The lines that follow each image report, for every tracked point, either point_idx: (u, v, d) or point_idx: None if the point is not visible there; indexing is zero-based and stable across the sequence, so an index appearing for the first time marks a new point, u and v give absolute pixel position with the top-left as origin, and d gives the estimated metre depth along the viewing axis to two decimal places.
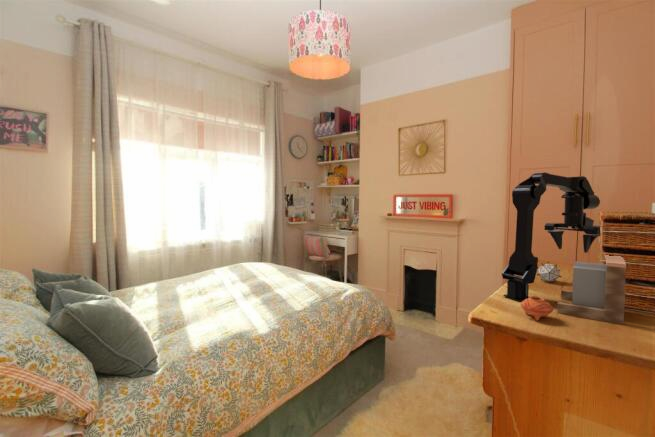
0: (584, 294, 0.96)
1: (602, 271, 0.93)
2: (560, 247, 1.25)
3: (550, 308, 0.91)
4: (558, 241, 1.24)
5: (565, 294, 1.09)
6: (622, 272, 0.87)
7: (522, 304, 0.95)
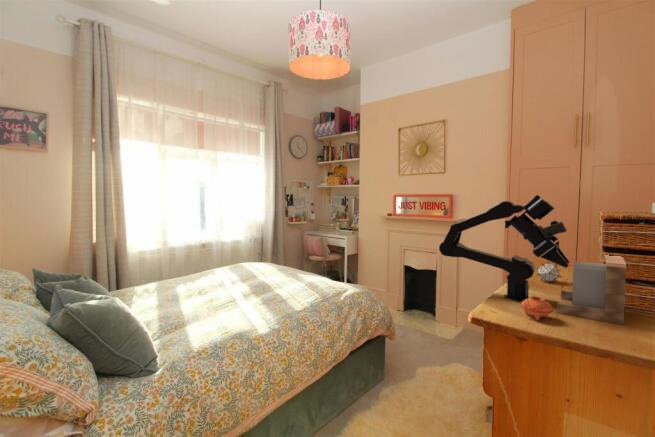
0: (584, 294, 0.96)
1: (602, 271, 0.93)
2: (566, 261, 1.05)
3: (550, 308, 0.91)
4: None
5: (565, 294, 1.09)
6: (622, 272, 0.87)
7: (522, 304, 0.95)
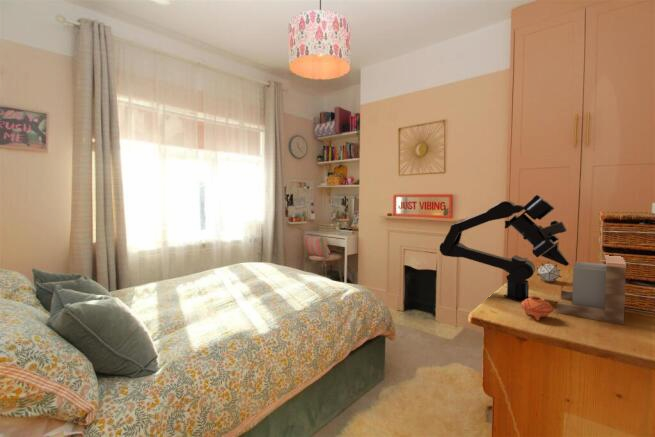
0: (584, 294, 0.96)
1: (602, 271, 0.93)
2: None
3: (550, 308, 0.91)
4: None
5: (565, 294, 1.09)
6: (622, 272, 0.87)
7: (522, 304, 0.95)
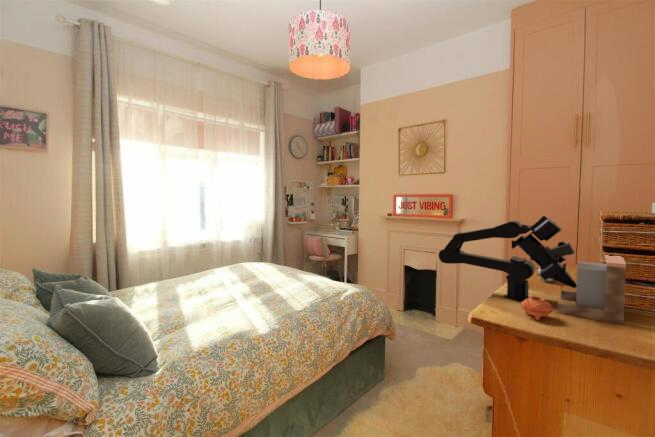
0: (588, 294, 0.95)
1: None
2: None
3: (550, 308, 0.91)
4: None
5: (565, 294, 1.09)
6: (622, 272, 0.87)
7: (522, 304, 0.95)
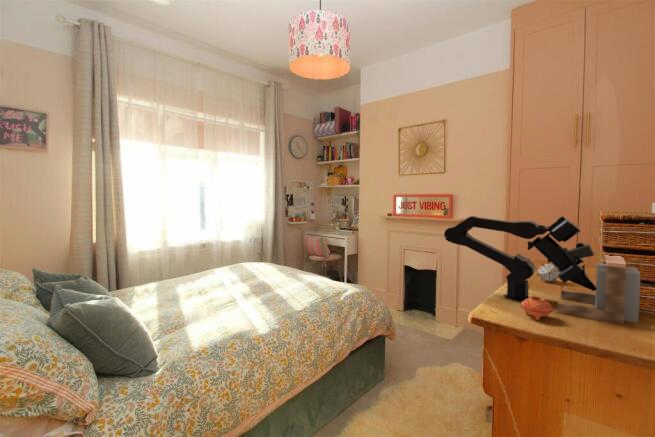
0: None
1: (629, 273, 0.89)
2: None
3: (550, 308, 0.91)
4: None
5: (565, 294, 1.09)
6: (622, 272, 0.87)
7: (522, 304, 0.95)
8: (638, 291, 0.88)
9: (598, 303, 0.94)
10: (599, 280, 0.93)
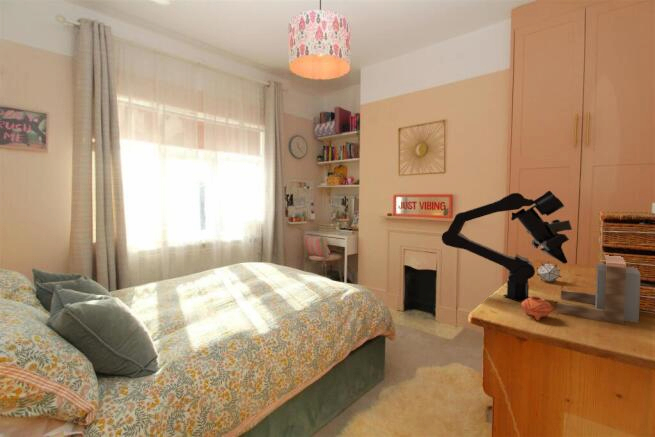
0: None
1: (629, 273, 0.89)
2: None
3: (550, 308, 0.91)
4: None
5: (565, 294, 1.09)
6: (622, 272, 0.87)
7: (522, 304, 0.95)
8: (638, 291, 0.88)
9: (598, 303, 0.94)
10: (599, 280, 0.93)
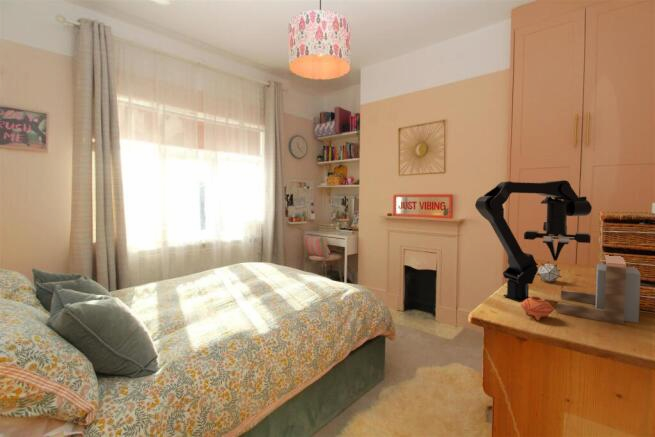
0: None
1: (629, 274, 0.89)
2: None
3: (550, 308, 0.91)
4: (554, 252, 1.11)
5: (565, 294, 1.09)
6: (622, 272, 0.87)
7: (522, 304, 0.95)
8: (638, 291, 0.88)
9: (598, 303, 0.94)
10: (599, 280, 0.93)
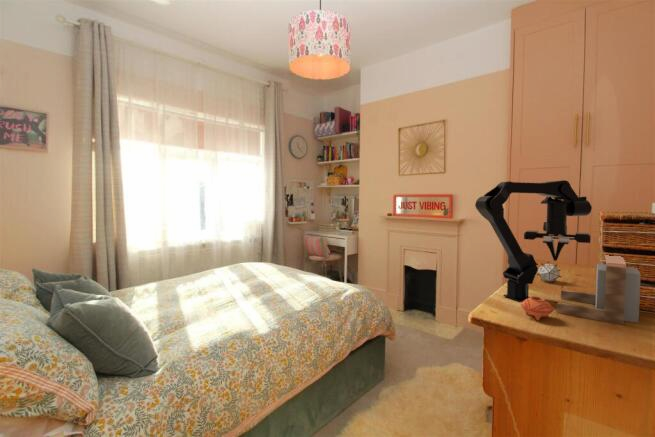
0: None
1: (629, 274, 0.89)
2: None
3: (550, 308, 0.91)
4: (554, 252, 1.11)
5: (565, 294, 1.09)
6: (622, 272, 0.87)
7: (522, 304, 0.95)
8: (638, 291, 0.88)
9: (598, 303, 0.94)
10: (599, 280, 0.93)
